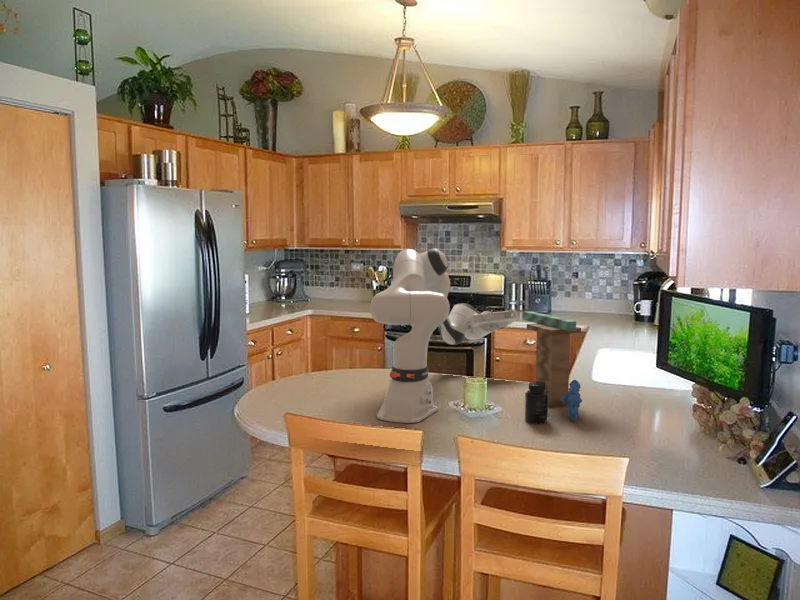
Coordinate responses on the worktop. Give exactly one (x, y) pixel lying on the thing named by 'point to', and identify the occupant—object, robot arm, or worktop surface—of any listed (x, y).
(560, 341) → the walnut stand
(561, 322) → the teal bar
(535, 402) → the supplement bottle
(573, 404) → the grapes
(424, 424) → the worktop surface
